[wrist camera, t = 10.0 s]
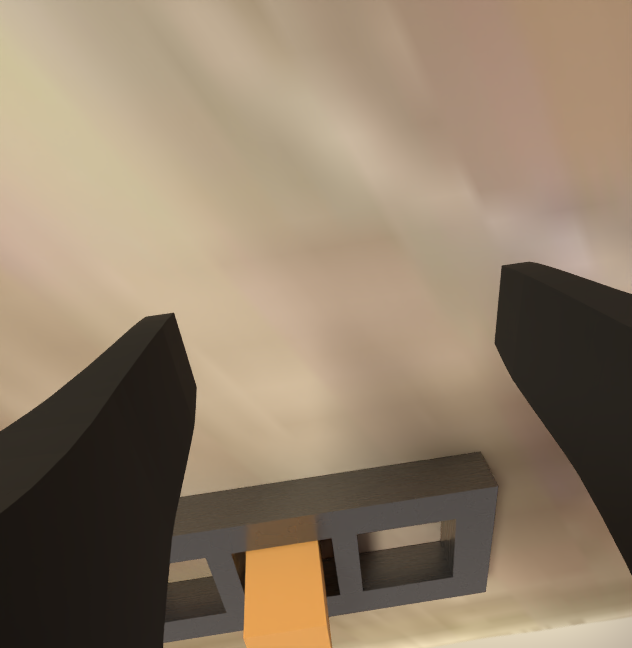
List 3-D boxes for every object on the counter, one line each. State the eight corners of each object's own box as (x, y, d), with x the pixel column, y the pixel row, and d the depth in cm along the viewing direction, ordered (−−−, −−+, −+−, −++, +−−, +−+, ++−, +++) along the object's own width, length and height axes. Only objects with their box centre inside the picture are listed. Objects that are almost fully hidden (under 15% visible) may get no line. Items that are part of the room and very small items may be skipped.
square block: (313, 504, 30) (326, 625, 24) (320, 545, 32) (334, 666, 26) (247, 514, 29) (243, 638, 24) (258, 554, 32) (257, 677, 26)
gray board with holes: (480, 451, 29) (498, 486, 26) (471, 556, 34) (485, 591, 32) (64, 515, 28) (47, 555, 26) (120, 610, 33) (110, 651, 31)
